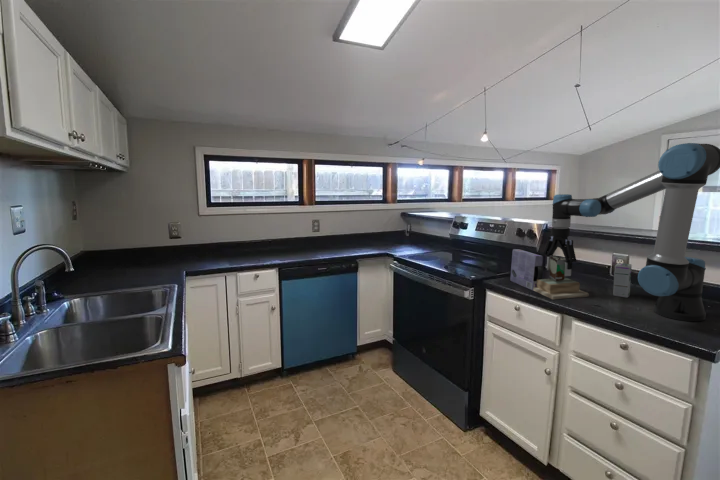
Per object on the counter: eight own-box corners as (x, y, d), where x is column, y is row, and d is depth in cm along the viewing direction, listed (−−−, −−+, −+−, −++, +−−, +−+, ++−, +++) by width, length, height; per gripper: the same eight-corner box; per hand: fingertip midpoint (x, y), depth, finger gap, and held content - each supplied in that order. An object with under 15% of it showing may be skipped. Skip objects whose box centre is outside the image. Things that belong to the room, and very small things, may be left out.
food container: (571, 281, 162) (572, 260, 160) (556, 281, 163) (557, 260, 161) (562, 275, 174) (563, 255, 172) (548, 274, 175) (549, 255, 173)
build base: (588, 296, 163) (589, 284, 162) (552, 299, 160) (553, 287, 159) (561, 285, 180) (561, 274, 180) (528, 288, 178) (529, 277, 177)
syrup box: (628, 297, 159) (631, 266, 157) (612, 295, 163) (614, 264, 161) (629, 294, 163) (632, 264, 161) (614, 292, 167) (616, 262, 165)
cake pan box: (542, 290, 174) (544, 255, 171) (533, 291, 173) (535, 256, 170) (517, 280, 193) (518, 248, 190) (509, 281, 192) (510, 249, 189)
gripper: (537, 225, 177) (535, 267, 180) (572, 231, 153) (569, 279, 157) (550, 224, 178) (548, 266, 181) (587, 230, 154) (584, 278, 158)
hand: (558, 272), depth 169 cm, fingers closed on food container, 11 cm apart
